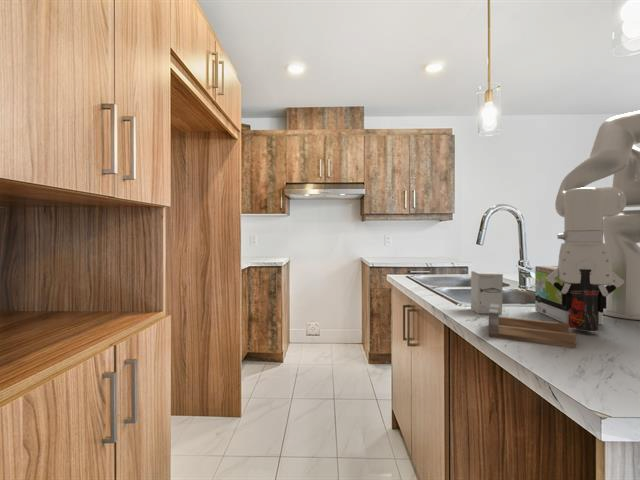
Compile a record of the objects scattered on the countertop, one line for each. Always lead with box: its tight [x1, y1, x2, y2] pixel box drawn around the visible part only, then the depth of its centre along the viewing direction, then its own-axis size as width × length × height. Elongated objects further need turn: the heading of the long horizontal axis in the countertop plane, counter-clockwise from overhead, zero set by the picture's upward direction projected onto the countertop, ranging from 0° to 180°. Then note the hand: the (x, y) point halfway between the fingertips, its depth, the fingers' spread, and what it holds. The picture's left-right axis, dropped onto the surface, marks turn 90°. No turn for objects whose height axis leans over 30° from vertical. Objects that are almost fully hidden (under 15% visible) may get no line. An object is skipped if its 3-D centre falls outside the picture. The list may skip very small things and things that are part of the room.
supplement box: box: [470, 270, 504, 316], centre depth 106 cm, size 7×7×13 cm
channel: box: [488, 303, 577, 349], centre depth 82 cm, size 12×17×6 cm
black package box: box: [568, 269, 600, 332], centre depth 83 cm, size 6×6×15 cm
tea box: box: [534, 265, 604, 325], centre depth 98 cm, size 15×10×15 cm, turn 177°
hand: (583, 309), depth 83 cm, fingers closed on black package box, 5 cm apart
